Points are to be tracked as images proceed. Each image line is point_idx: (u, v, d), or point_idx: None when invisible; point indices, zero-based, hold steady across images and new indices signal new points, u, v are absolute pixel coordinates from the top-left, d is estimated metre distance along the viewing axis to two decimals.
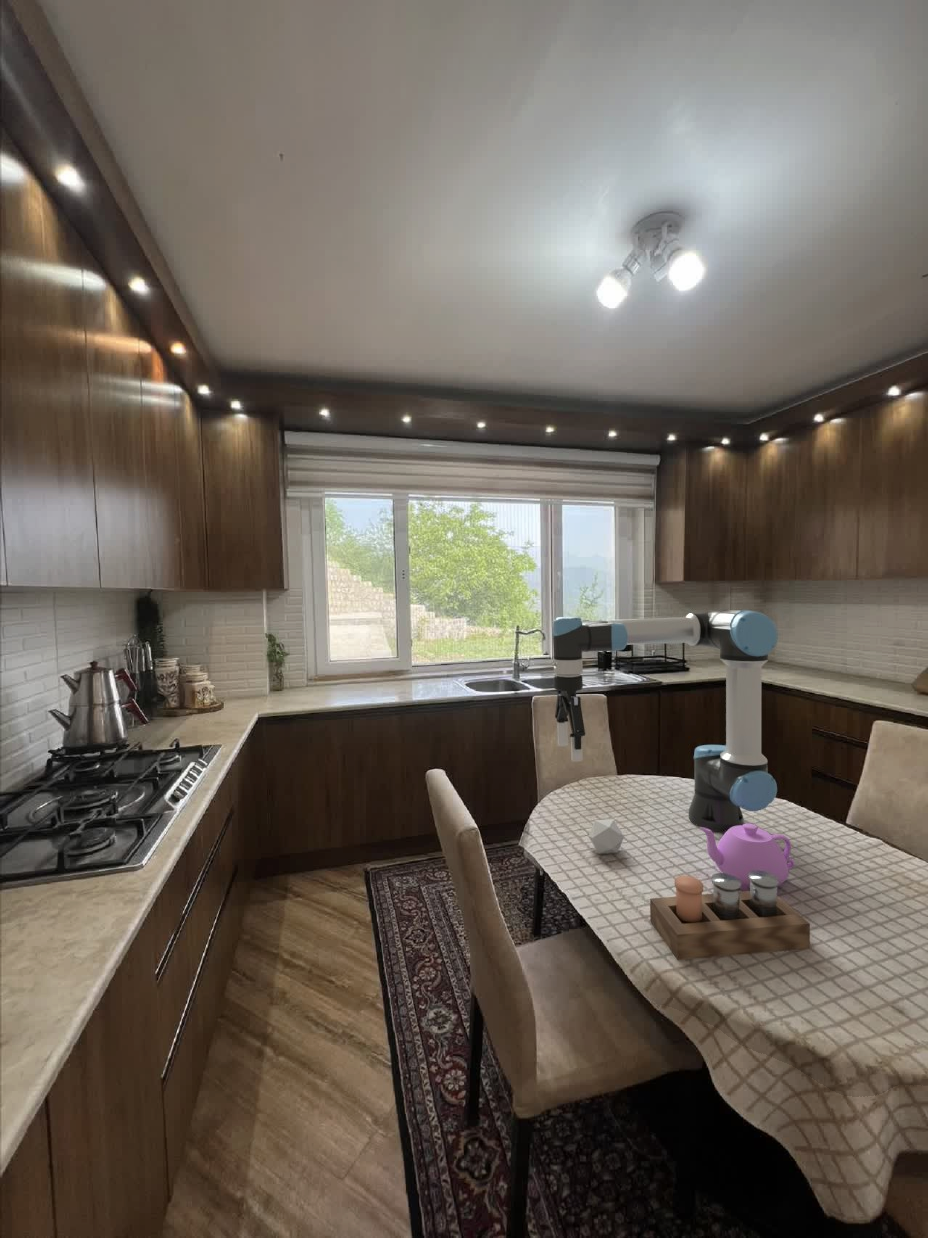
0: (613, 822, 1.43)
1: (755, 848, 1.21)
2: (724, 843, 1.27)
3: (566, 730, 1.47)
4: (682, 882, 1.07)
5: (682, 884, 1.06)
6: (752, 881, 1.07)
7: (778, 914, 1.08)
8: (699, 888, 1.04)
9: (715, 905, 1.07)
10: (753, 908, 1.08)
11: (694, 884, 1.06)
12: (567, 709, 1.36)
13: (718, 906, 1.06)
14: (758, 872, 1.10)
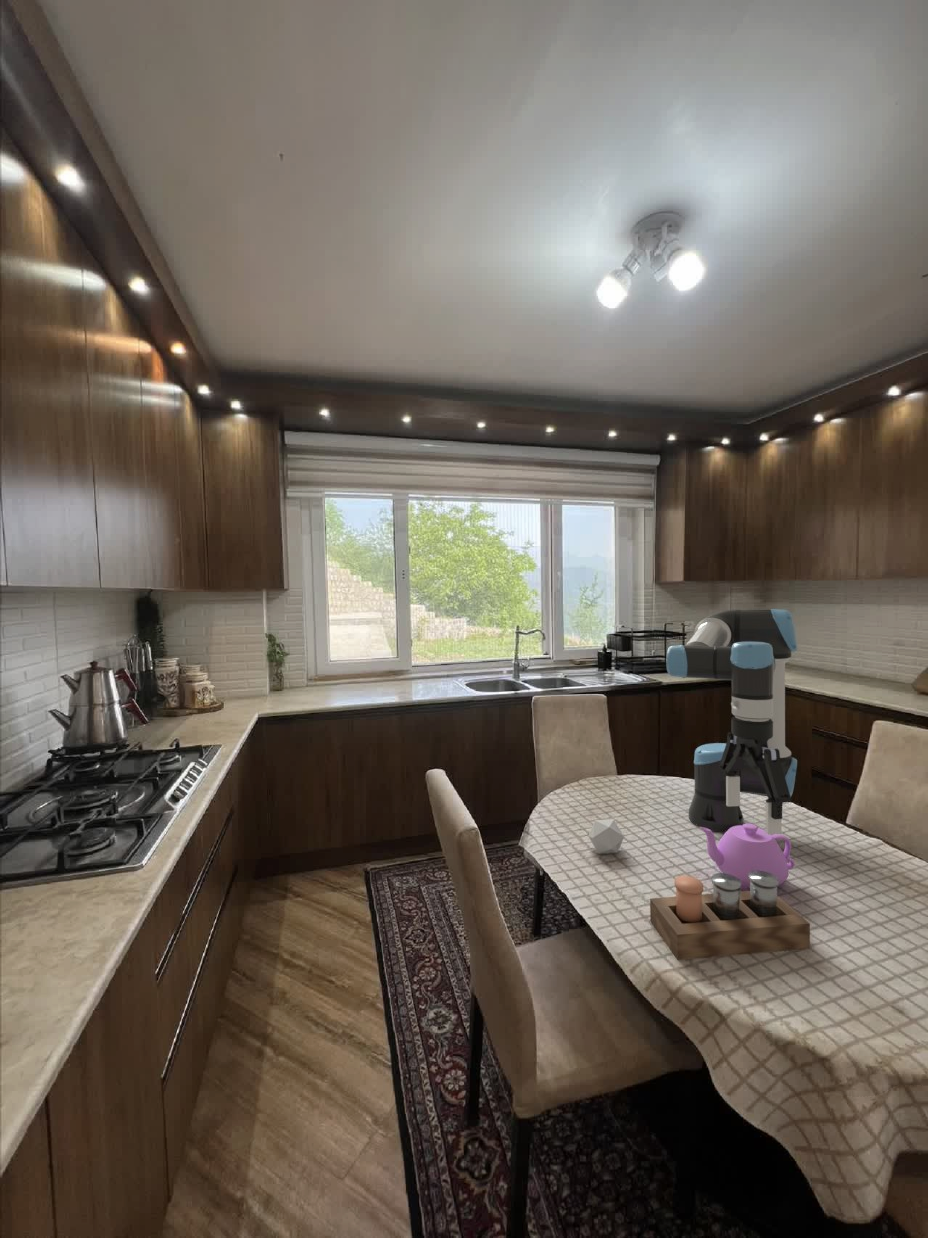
0: (613, 822, 1.43)
1: (755, 848, 1.21)
2: (724, 843, 1.27)
3: (738, 786, 1.15)
4: (682, 882, 1.07)
5: (682, 884, 1.06)
6: (752, 881, 1.07)
7: (778, 914, 1.08)
8: (699, 888, 1.04)
9: (715, 905, 1.07)
10: (753, 908, 1.08)
11: (694, 884, 1.06)
12: (756, 764, 1.04)
13: (718, 906, 1.06)
14: (758, 872, 1.10)
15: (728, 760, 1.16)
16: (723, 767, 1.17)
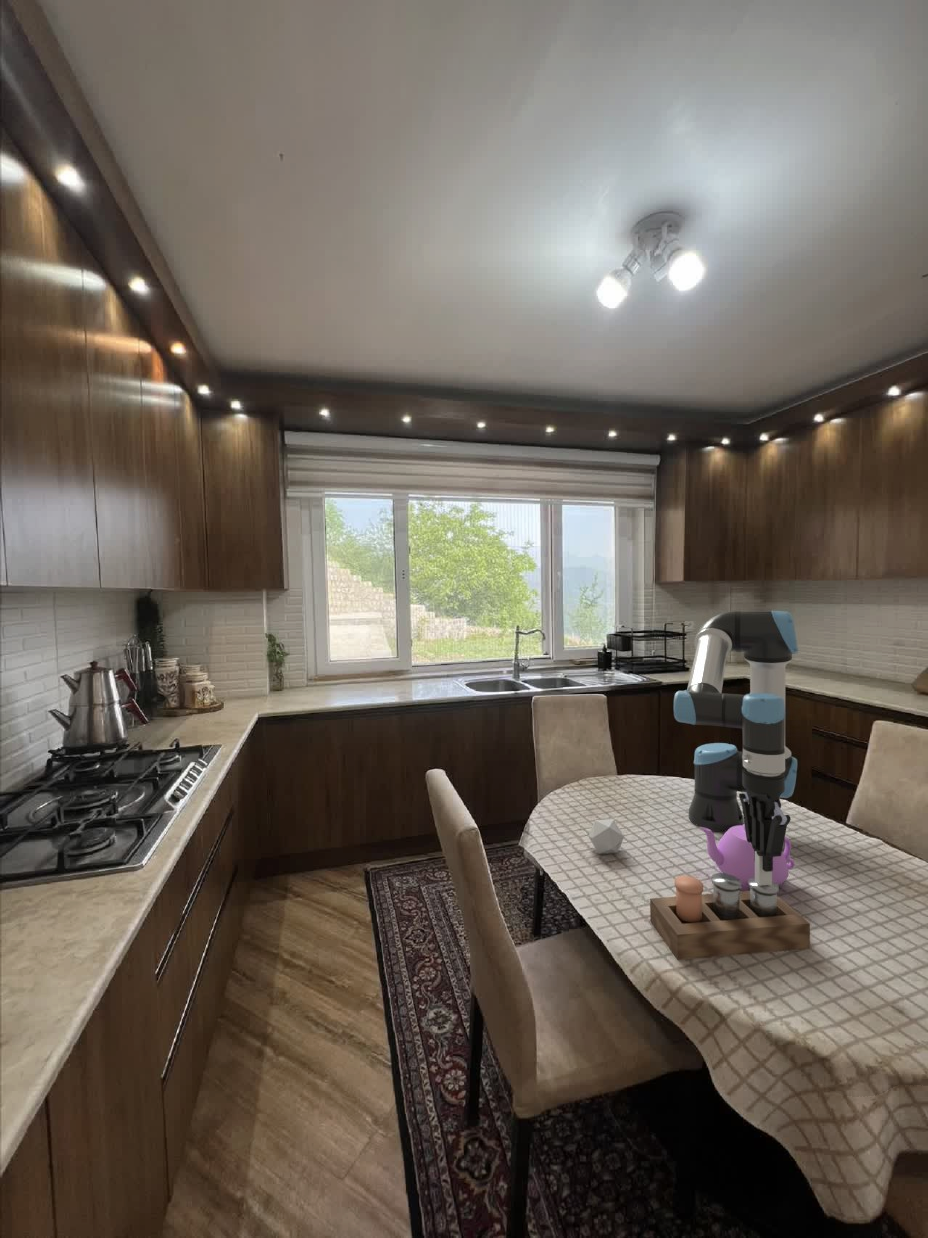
0: (613, 822, 1.43)
1: None
2: (724, 843, 1.27)
3: None
4: (682, 882, 1.07)
5: (682, 884, 1.06)
6: (752, 888, 1.07)
7: (778, 914, 1.08)
8: (699, 888, 1.04)
9: (715, 905, 1.07)
10: None
11: (694, 884, 1.06)
12: (762, 821, 1.05)
13: (718, 906, 1.06)
14: None
15: (752, 827, 1.10)
16: (750, 838, 1.10)
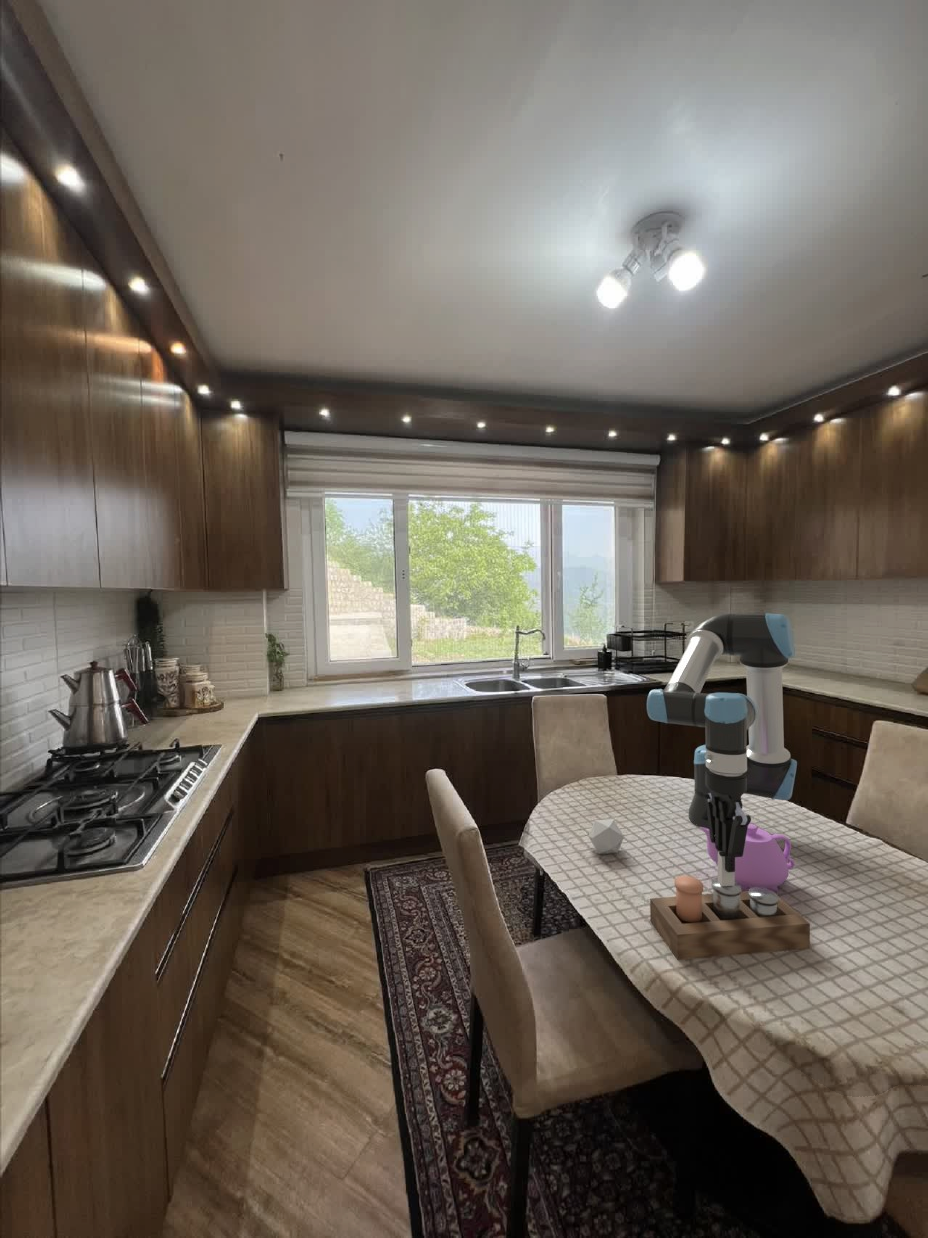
0: (613, 822, 1.43)
1: (755, 848, 1.21)
2: None
3: None
4: (682, 882, 1.07)
5: (682, 884, 1.06)
6: (752, 898, 1.07)
7: (778, 914, 1.08)
8: (699, 888, 1.04)
9: (715, 910, 1.07)
10: None
11: (694, 884, 1.06)
12: (724, 821, 1.04)
13: (718, 911, 1.06)
14: (758, 889, 1.10)
15: None
16: (714, 838, 1.09)
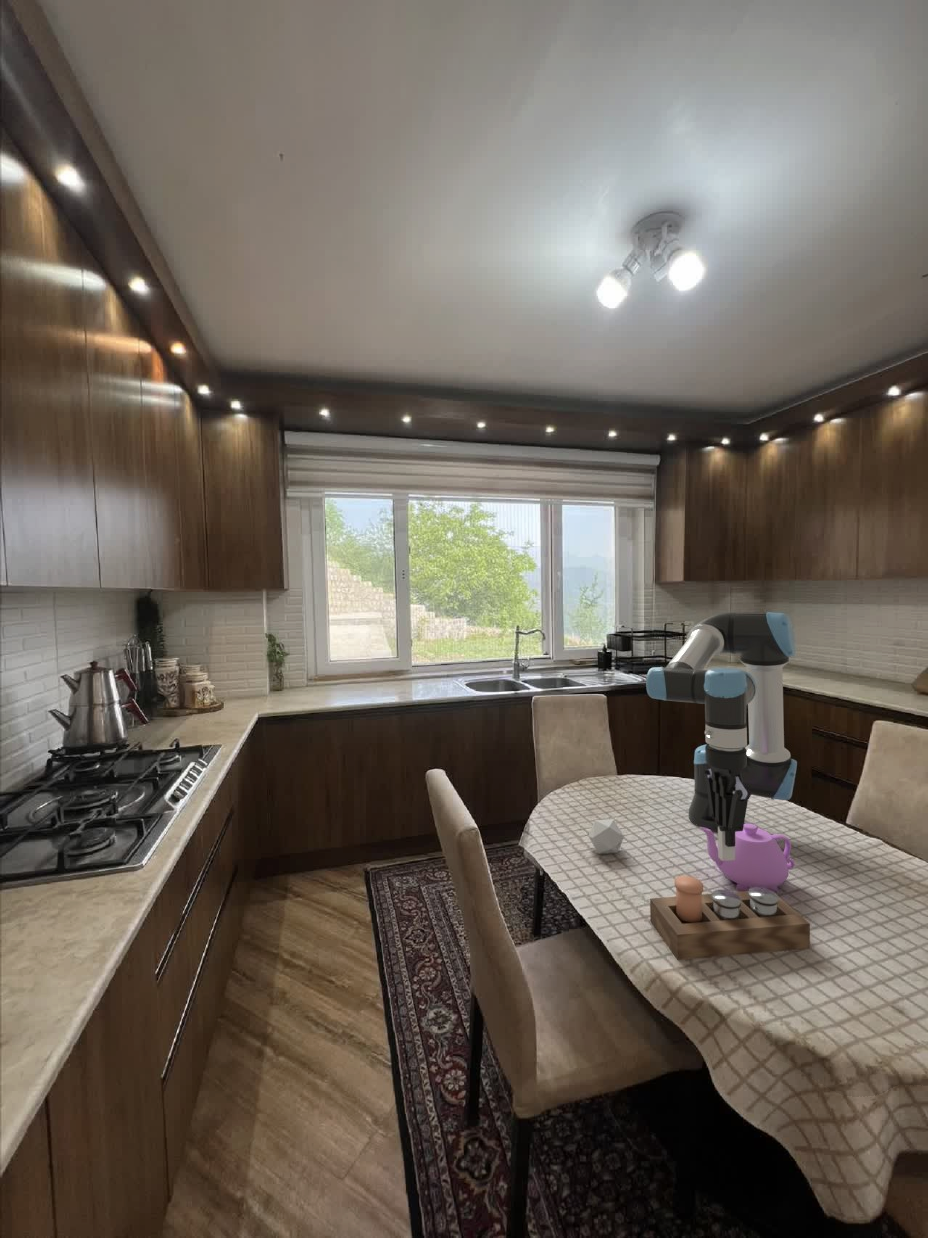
0: (613, 822, 1.43)
1: (755, 848, 1.21)
2: None
3: None
4: (682, 882, 1.07)
5: (682, 884, 1.06)
6: (752, 898, 1.07)
7: (778, 914, 1.08)
8: (699, 888, 1.04)
9: None
10: None
11: (694, 884, 1.06)
12: (724, 796, 1.04)
13: None
14: (758, 889, 1.10)
15: None
16: (714, 813, 1.09)
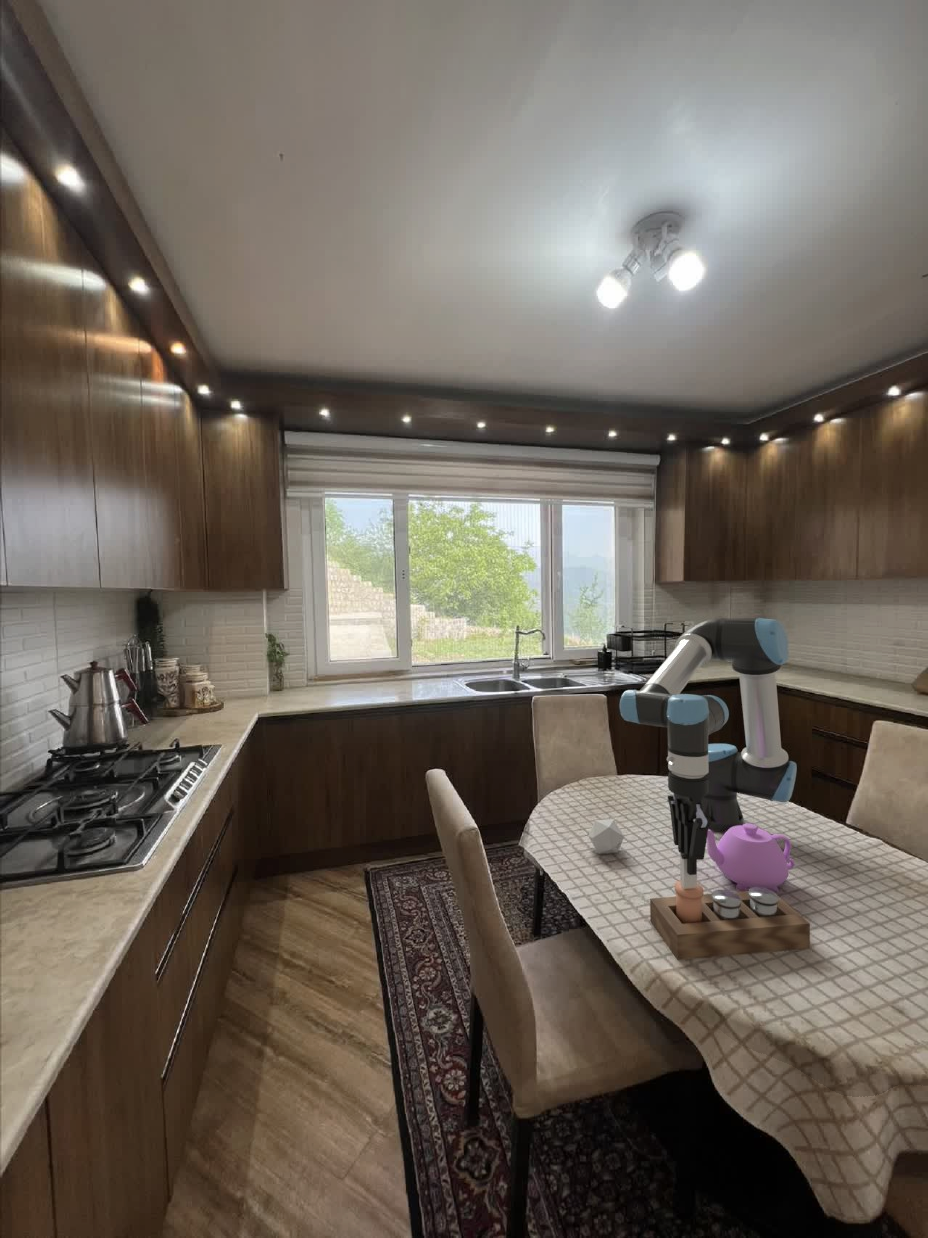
0: (613, 822, 1.43)
1: (755, 848, 1.21)
2: (724, 843, 1.27)
3: None
4: None
5: (682, 888, 1.06)
6: (752, 898, 1.07)
7: (778, 914, 1.08)
8: (699, 893, 1.04)
9: None
10: None
11: (694, 889, 1.06)
12: (686, 823, 1.04)
13: None
14: (758, 889, 1.10)
15: None
16: (677, 840, 1.09)
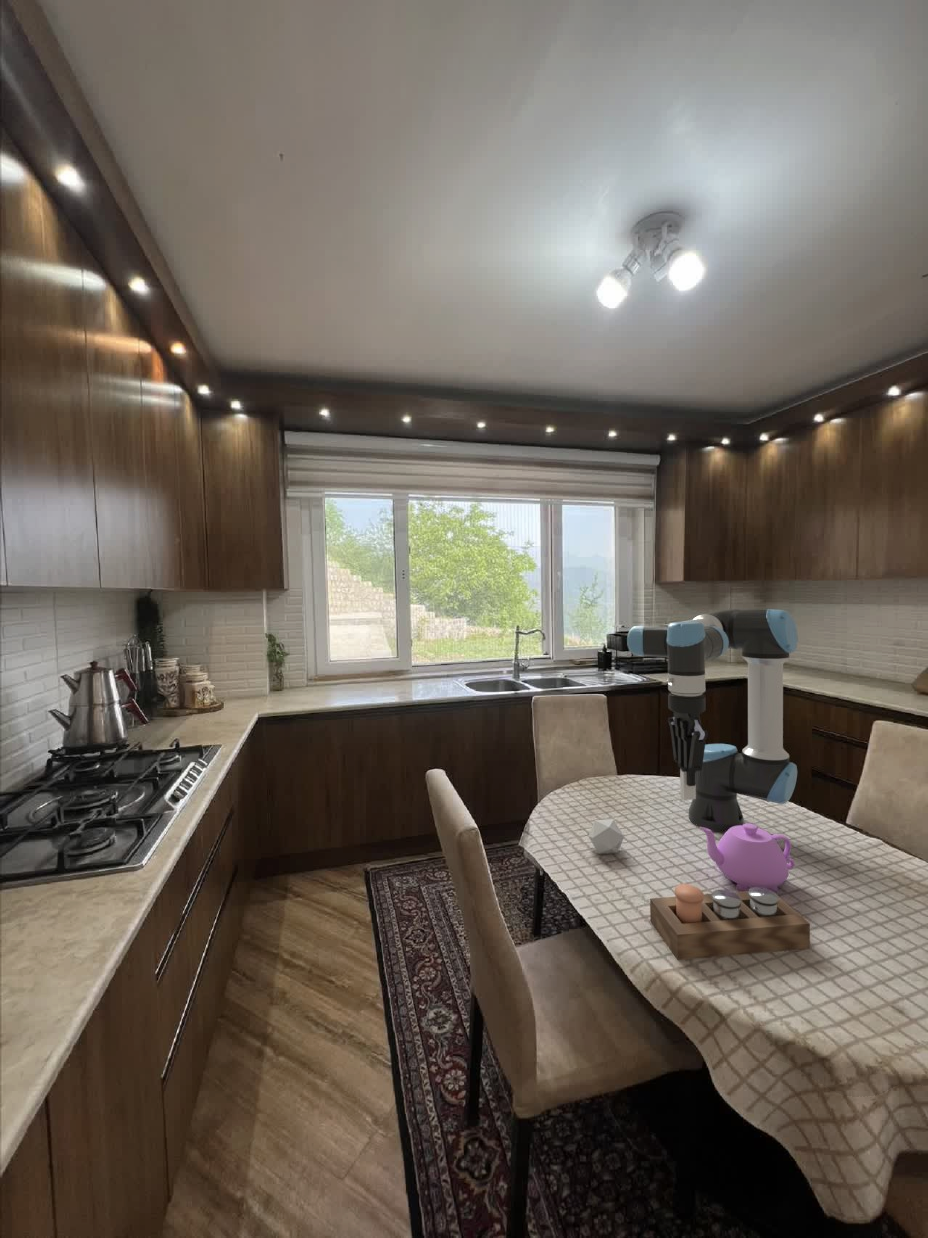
0: (613, 822, 1.43)
1: (755, 848, 1.21)
2: (724, 843, 1.27)
3: None
4: (682, 891, 1.07)
5: (682, 892, 1.06)
6: (752, 898, 1.07)
7: (778, 914, 1.08)
8: (699, 897, 1.05)
9: None
10: None
11: (694, 893, 1.06)
12: (685, 738, 1.13)
13: None
14: (758, 889, 1.10)
15: None
16: (677, 757, 1.18)
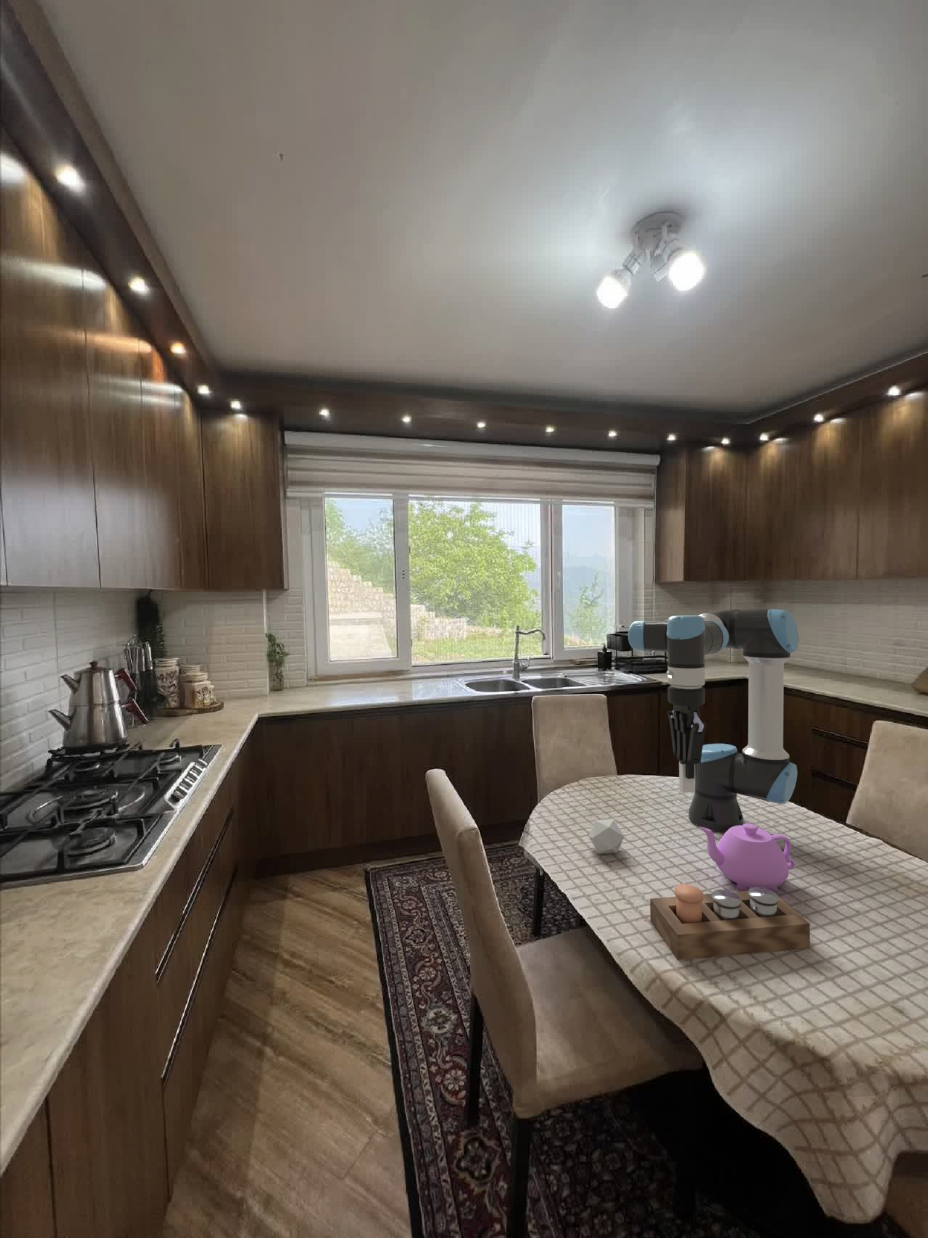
0: (613, 822, 1.43)
1: (755, 848, 1.21)
2: (724, 843, 1.27)
3: None
4: (682, 891, 1.07)
5: (682, 892, 1.06)
6: (752, 898, 1.07)
7: (778, 914, 1.08)
8: (699, 897, 1.05)
9: None
10: None
11: (694, 893, 1.06)
12: (684, 731, 1.13)
13: None
14: (758, 889, 1.10)
15: None
16: (676, 750, 1.18)
